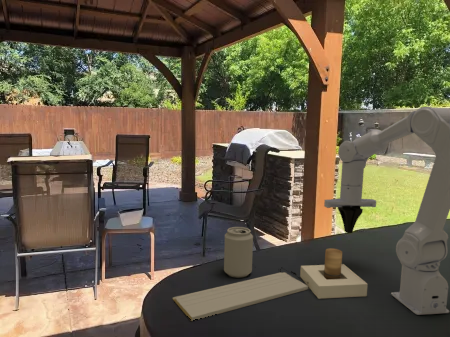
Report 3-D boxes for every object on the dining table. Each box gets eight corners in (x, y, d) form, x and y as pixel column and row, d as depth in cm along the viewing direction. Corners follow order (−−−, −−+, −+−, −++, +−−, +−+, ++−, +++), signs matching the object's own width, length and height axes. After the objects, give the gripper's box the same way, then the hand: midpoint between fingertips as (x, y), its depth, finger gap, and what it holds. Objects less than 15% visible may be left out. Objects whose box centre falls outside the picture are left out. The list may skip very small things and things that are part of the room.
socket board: (366, 296, 86) (367, 284, 85) (318, 298, 84) (319, 286, 84) (342, 274, 97) (343, 264, 97) (300, 276, 96) (300, 265, 95)
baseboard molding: (170, 298, 84) (191, 324, 73) (170, 286, 83) (192, 311, 73) (277, 273, 99) (308, 292, 88) (278, 263, 98) (308, 280, 88)
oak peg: (343, 289, 89) (346, 253, 88) (327, 290, 88) (329, 254, 87) (335, 281, 93) (337, 247, 92) (320, 282, 92) (322, 248, 91)
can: (254, 278, 94) (256, 233, 93) (226, 279, 93) (227, 234, 91) (248, 266, 101) (249, 225, 100) (221, 267, 100) (222, 225, 99)
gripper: (368, 182, 106) (364, 227, 108) (321, 182, 104) (318, 228, 105) (382, 186, 99) (378, 234, 101) (331, 186, 97) (328, 236, 98)
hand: (348, 232), depth 103 cm, fingers closed
